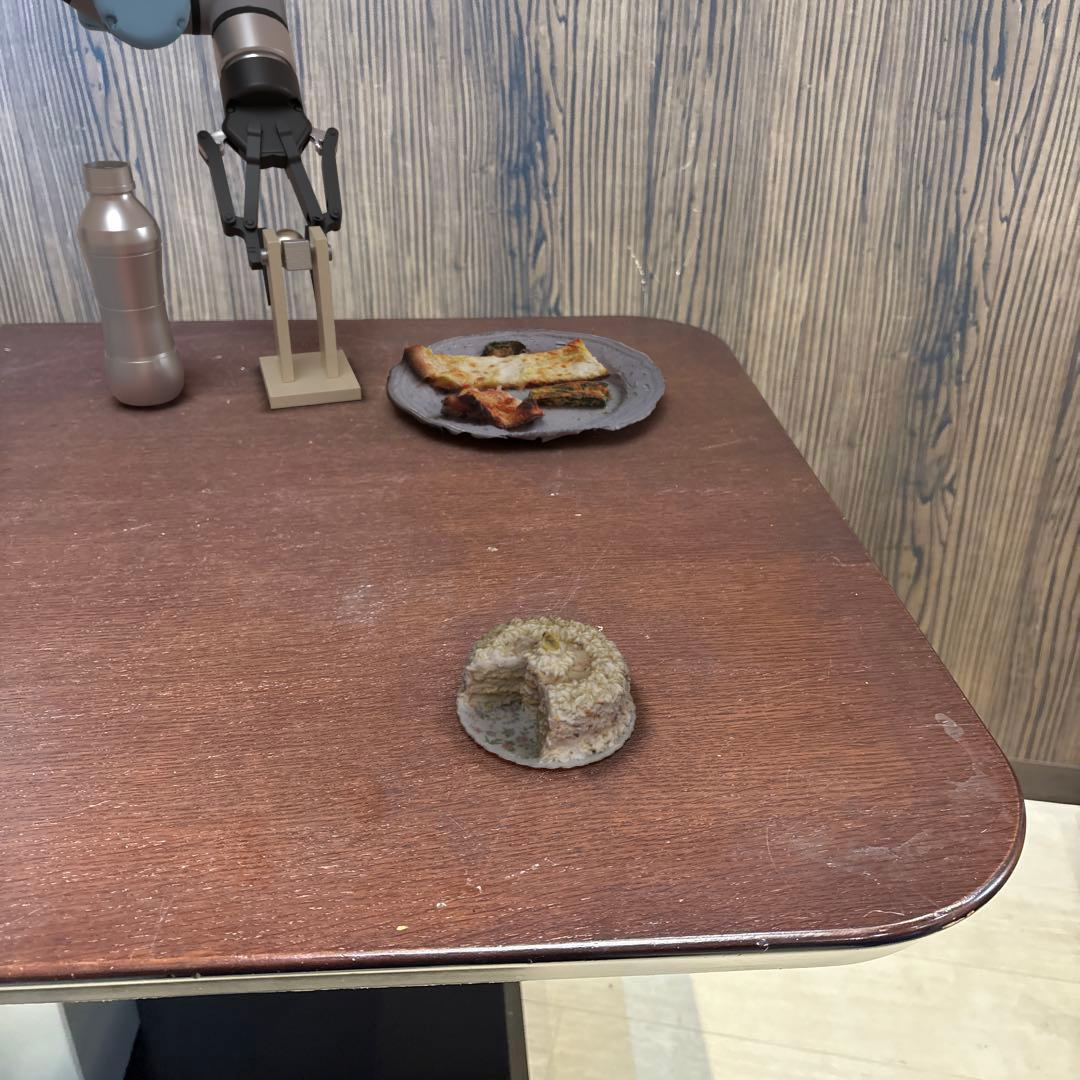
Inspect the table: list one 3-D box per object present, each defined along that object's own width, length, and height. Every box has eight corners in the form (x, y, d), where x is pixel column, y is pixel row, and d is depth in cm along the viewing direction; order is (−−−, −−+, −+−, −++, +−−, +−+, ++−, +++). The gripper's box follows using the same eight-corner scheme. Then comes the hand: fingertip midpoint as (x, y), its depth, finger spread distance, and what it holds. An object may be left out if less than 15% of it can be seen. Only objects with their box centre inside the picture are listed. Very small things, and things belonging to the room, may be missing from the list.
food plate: (396, 464, 80) (394, 424, 78) (378, 359, 99) (376, 325, 98) (695, 444, 84) (700, 406, 83) (622, 347, 104) (625, 314, 102)
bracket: (260, 368, 97) (241, 222, 90) (343, 360, 99) (332, 217, 92) (271, 409, 89) (251, 252, 81) (361, 399, 91) (350, 245, 84)
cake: (524, 640, 61) (531, 563, 59) (668, 707, 57) (682, 626, 54) (416, 717, 54) (419, 633, 51) (571, 801, 49) (583, 713, 47)
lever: (268, 267, 96) (263, 228, 95) (307, 265, 97) (302, 226, 96) (279, 278, 86) (273, 235, 85) (321, 276, 87) (316, 232, 86)
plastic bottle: (152, 380, 93) (110, 153, 83) (204, 396, 91) (168, 163, 80) (94, 403, 89) (42, 165, 78) (147, 421, 86) (100, 177, 75)
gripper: (342, 102, 104) (381, 308, 99) (172, 106, 99) (205, 322, 94) (346, 51, 97) (389, 270, 92) (164, 52, 92) (199, 283, 87)
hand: (296, 296), depth 93 cm, fingers closed on lever, 4 cm apart
